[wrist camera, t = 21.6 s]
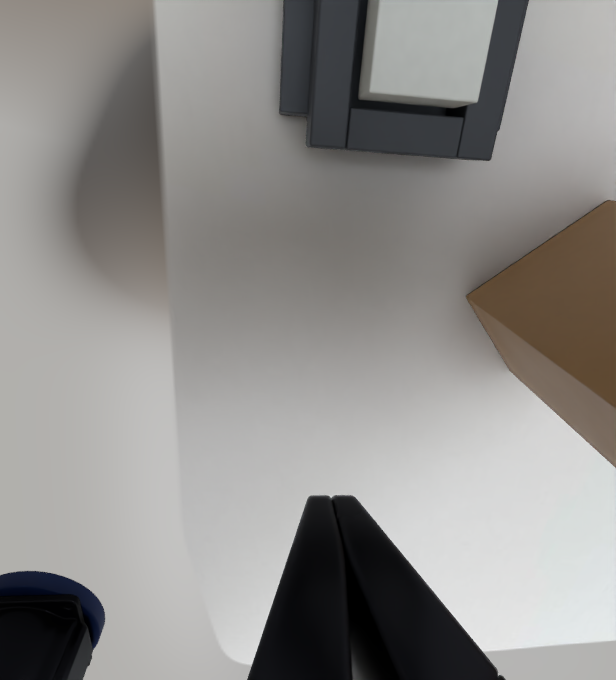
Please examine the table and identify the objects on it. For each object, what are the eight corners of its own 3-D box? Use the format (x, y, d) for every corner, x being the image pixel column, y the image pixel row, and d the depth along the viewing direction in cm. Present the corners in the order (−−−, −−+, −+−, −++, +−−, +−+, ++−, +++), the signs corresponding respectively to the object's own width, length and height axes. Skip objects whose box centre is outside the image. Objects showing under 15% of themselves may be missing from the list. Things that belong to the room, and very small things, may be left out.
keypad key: (454, 108, 14) (478, 103, 12) (357, 99, 13) (368, 92, 12) (477, -15, 12) (507, -39, 11) (370, -28, 12) (385, -56, 10)
